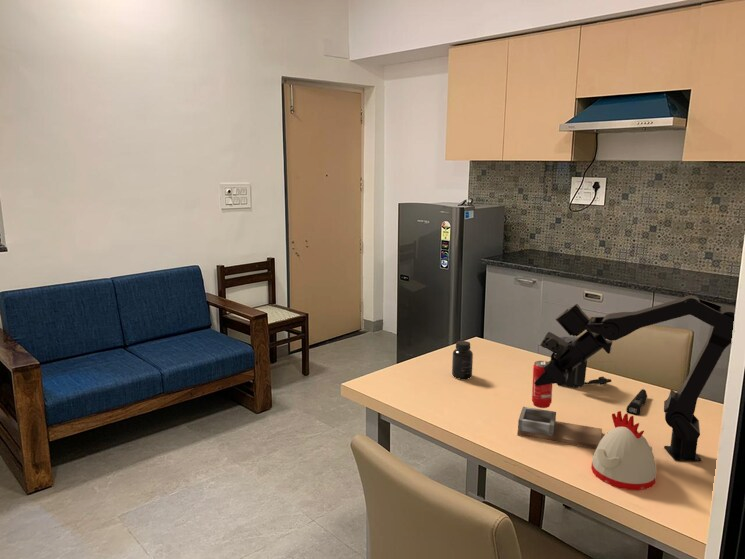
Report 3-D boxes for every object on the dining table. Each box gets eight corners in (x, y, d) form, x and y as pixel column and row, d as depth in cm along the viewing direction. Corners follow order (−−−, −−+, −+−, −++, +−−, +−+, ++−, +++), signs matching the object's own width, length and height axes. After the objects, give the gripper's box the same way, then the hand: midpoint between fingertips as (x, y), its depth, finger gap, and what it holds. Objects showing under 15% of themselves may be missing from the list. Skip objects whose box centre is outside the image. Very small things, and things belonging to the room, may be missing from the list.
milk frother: (548, 379, 191) (551, 337, 188) (586, 373, 196) (590, 332, 193) (577, 395, 178) (581, 351, 175) (617, 389, 183) (621, 345, 180)
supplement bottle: (448, 374, 195) (449, 341, 193) (464, 371, 198) (465, 338, 196) (459, 381, 189) (460, 347, 187) (476, 378, 192) (477, 344, 189)
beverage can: (532, 408, 155) (534, 366, 152) (531, 400, 160) (532, 359, 157) (552, 409, 154) (554, 367, 151) (550, 401, 159) (552, 360, 156)
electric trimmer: (649, 399, 176) (650, 390, 176) (639, 416, 164) (640, 406, 163) (636, 396, 178) (637, 387, 178) (625, 413, 166) (626, 403, 165)
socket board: (601, 432, 154) (602, 418, 153) (601, 449, 145) (602, 434, 144) (522, 419, 161) (523, 405, 160) (517, 435, 152) (518, 420, 151)
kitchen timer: (618, 453, 143) (623, 398, 140) (668, 480, 131) (675, 420, 128) (578, 467, 136) (583, 409, 133) (628, 496, 125) (634, 434, 121)
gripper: (566, 316, 158) (525, 348, 166) (554, 334, 142) (509, 369, 149) (594, 347, 156) (551, 378, 164) (585, 369, 140) (537, 402, 147)
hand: (537, 381), depth 156 cm, fingers closed on beverage can, 5 cm apart
